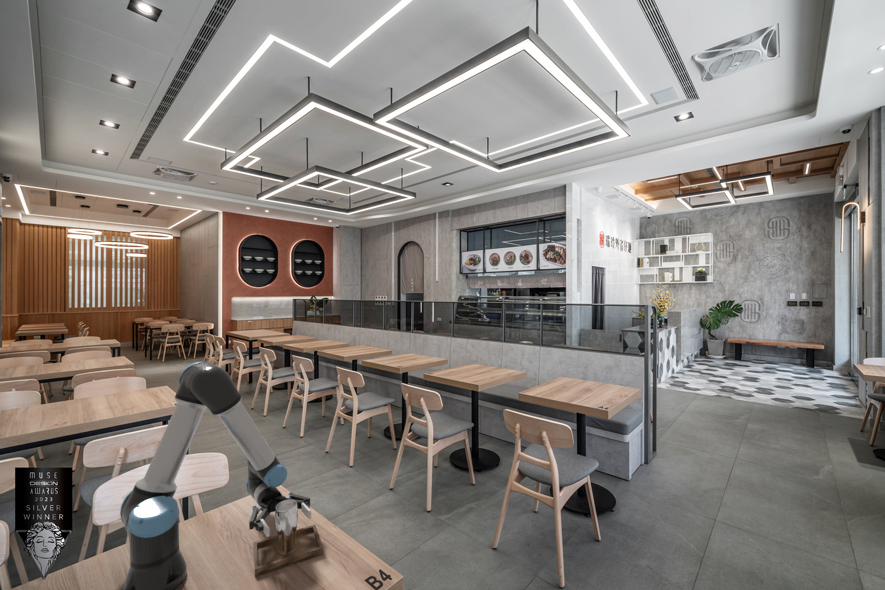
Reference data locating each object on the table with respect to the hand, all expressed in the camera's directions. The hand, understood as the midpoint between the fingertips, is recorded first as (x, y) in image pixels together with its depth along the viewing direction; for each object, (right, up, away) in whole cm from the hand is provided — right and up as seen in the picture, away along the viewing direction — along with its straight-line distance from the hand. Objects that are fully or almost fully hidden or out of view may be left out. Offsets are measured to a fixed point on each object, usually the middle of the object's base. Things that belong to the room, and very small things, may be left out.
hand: (290, 523), depth 125 cm
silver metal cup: (-2, -10, +2) cm, 10 cm away
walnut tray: (-2, -10, +2) cm, 11 cm away
